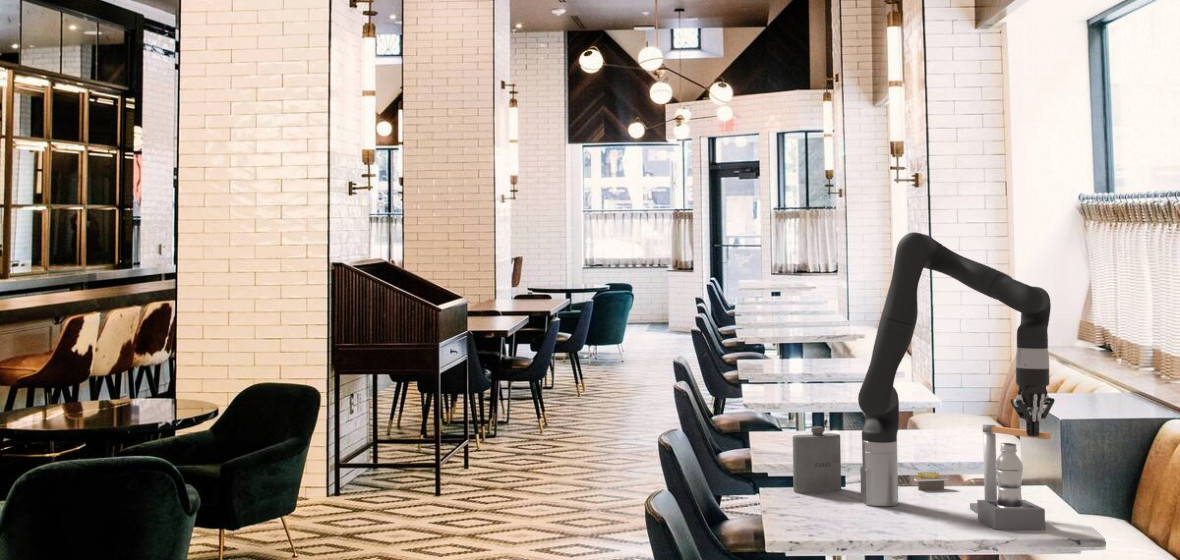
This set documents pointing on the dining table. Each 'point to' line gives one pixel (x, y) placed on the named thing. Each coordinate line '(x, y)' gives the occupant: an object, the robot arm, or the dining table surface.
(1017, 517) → the plug dock
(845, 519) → the dining table surface
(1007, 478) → the plastic bottle
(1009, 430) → the slender peach stick
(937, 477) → the platform
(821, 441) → the flask
